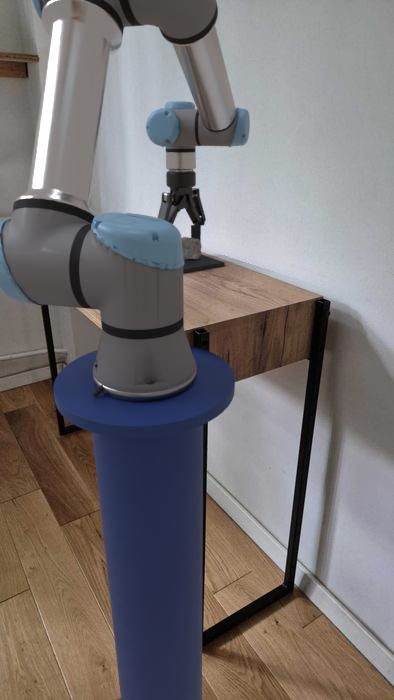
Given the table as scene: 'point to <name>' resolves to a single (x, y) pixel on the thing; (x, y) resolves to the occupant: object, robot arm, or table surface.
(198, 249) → the stone
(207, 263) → the edge mat
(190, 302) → the table surface
